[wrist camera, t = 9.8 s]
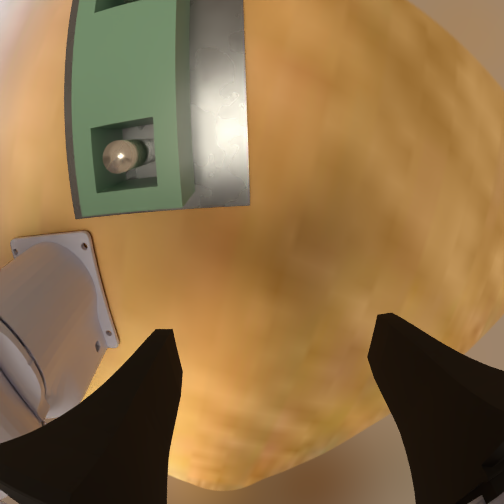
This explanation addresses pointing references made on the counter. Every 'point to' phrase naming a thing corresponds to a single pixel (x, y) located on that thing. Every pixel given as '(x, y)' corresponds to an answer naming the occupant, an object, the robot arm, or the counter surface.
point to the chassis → (202, 113)
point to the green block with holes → (132, 101)
